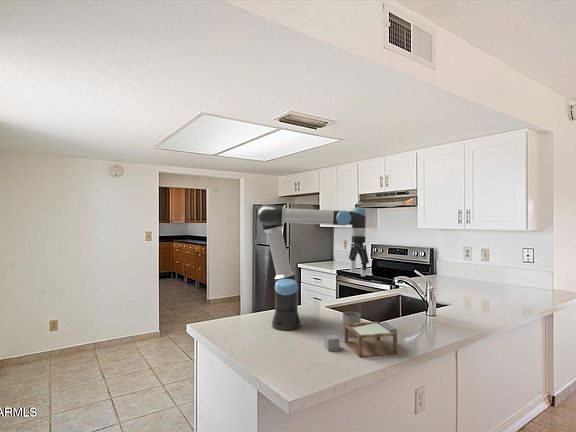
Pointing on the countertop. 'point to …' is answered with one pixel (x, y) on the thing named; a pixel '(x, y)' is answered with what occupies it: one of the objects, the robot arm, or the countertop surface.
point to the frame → (369, 342)
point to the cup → (351, 321)
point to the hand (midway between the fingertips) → (358, 274)
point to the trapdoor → (375, 329)
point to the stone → (332, 343)
